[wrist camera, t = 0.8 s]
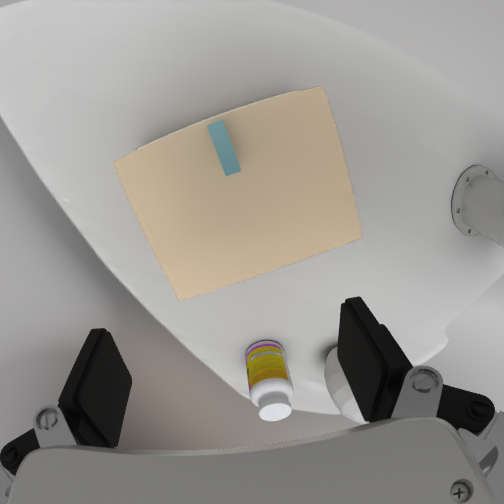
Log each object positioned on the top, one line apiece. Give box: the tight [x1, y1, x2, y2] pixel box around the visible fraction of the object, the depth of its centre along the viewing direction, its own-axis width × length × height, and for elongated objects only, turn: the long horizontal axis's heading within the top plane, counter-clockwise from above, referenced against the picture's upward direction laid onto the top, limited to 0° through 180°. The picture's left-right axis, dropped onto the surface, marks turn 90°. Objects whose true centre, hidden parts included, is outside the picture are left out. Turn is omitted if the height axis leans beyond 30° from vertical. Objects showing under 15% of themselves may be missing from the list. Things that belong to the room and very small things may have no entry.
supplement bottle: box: [246, 341, 294, 421], centre depth 44 cm, size 7×7×13 cm
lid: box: [112, 85, 362, 302], centre depth 26 cm, size 21×16×6 cm
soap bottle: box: [324, 347, 369, 424], centre depth 41 cm, size 14×9×26 cm, turn 69°
